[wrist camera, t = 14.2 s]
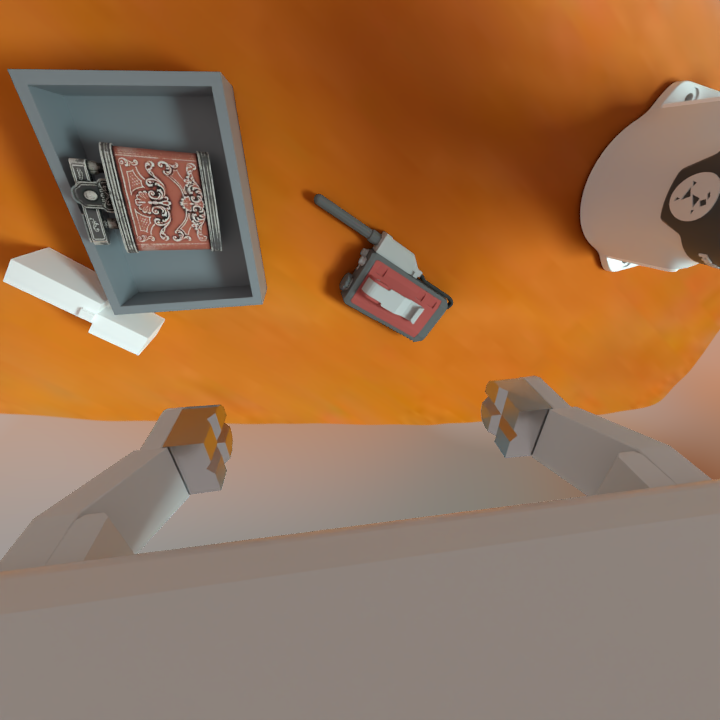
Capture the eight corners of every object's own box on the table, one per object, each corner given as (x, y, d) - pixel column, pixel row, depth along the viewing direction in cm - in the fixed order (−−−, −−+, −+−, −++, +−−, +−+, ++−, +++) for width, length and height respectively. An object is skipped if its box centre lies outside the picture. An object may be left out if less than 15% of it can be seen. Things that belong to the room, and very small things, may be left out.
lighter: (206, 153, 29) (63, 141, 25) (208, 149, 26) (49, 134, 22) (219, 248, 33) (96, 250, 28) (223, 253, 30) (88, 257, 26)
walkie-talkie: (459, 284, 40) (319, 185, 33) (476, 296, 37) (321, 187, 29) (417, 339, 44) (279, 261, 36) (428, 355, 40) (277, 272, 32)
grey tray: (232, 86, 28) (220, 71, 23) (266, 288, 37) (262, 304, 32) (55, 85, 26) (7, 69, 22) (137, 297, 35) (114, 315, 31)
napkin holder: (4, 242, 31) (-51, 256, 26) (120, 211, 31) (87, 219, 26) (103, 369, 39) (75, 398, 34) (196, 343, 39) (181, 368, 34)
